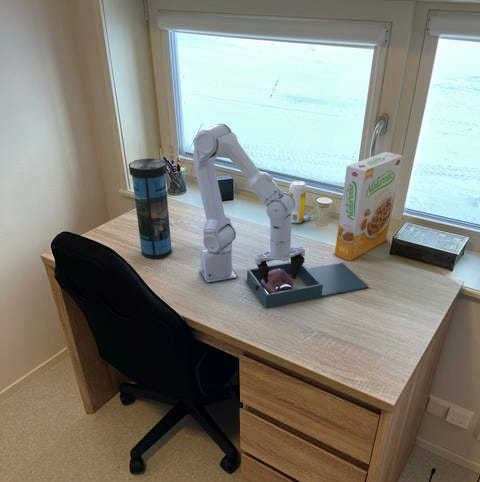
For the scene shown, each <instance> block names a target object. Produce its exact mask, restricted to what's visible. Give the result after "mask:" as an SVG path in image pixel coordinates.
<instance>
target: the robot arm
mask: <svg viewBox="0 0 480 482" xmlns="http://www.w3.org/2000/svg"><path fill="white" fill-rule="evenodd" d="M192 143H193V152H192V153H193V154H192V162H193V167H194V171H195V176H196V180H197V184H198V188H199V193H200V197H201V201H202V205H203V210H204V215H205V219H206V221H205V223H204V227H203V229H202V231H203V238H202V243H203V246H204V248H205V249H203V250H201V251H200V255H199V256H200V257H199V259H200V273H201V275H202V277H203V278H204V279H205V282H206V283H213V282H219V281H224V280H230V279H236V278H237V274H236V273H235V272H234V270H233V242H234V241H235V240H236V239H237V232H236V229H235V227H234V226H233V224H232V221H231V219H230V218H229V217H228V216H226V214H225V210H224V205H223V199H222V194H221V191H220V186H219V185H220V184H219V181H218V175H217V171H216V167H215V161H216V160H217V158H223V159H229V160H230V161H231V162H232V163H233V164H234V165H235V166H236V167H237V168H238V169H239V170H240V172H241V173H242V174H243V175H244V176H245V177H246V178H247V179H248V180H249V188H250V189H251V190H252V191H253V193H254V194H255V195H256V196H257V197H258V198H259V200H260V201H261V202H262V204H264V206H265V207H266V208H265V212H266V214H267V216H268V218H269V220H270V221H269V250H267V251H265V252H263V253H260V254H257V255H254V263H255V265H256V266H257V268H259V270H260V273H261V276H262V279H263V280H264V281H265V284H266V283H267V282H268V272H269V267H268V266H269V265H268V262H273V261H282V262H285V261H287V262H288V261H290V262H291V275H290V278H291V279H292V280H293V281H295V280H297V276H298V271H299V269H300V267H301V266H302V264H303V265H304V264H305V260H306V258H305V257H304V256H305V254H306V249H305V248H304V247H302V246H300V247H291V245H292V242H291V241H292V223H291V214H290V213H291V212H292V211H293V210H294V208H295V201H294V199H293V197H292V195H291V194H289V192H285V191H284V190H283V189H281V188H280V187H279V185H278V184H277V183H276V182H275V181H274V180H273V179H274V176H272V174H269V173H268V172H266V171H260V170H259V168H258V167H257V165H256V164H255V162H254V161H253V160H252V159H251V157H250V156H249V154H248V153H247V152H246V151H245V149H244V148H243V146H242V145H241V144H240V142H239V140H238V137H237V134H236V133H235V132H234V131H232V129H231V127H230V126H229V125H228V124H226V123H222V122H221V123H217V124H216V125H214V126H211V127H208V128H206V129H202V130H200V131H198V132H197V134H196V135H195V137H194V138H193V140H192Z"/></svg>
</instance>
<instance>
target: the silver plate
mask: <svg viewBox="0 0 480 482" xmlns="http://www.w3.org/2000/svg"><path fill="white" fill-rule="evenodd" d="M261 281H262V280H258V282H259V283H260V284H261ZM273 283H274V284H275V281H274V282H273ZM261 286H262V284H261ZM291 289H293V288H292V286H289V285H288V284H286V283H285V282H284V281H282V286H281V287H276V290H275V291H276V292H281V291H286V290H291ZM264 290H265V289H264ZM265 291H266V290H265ZM266 292H267V291H266ZM267 294H268V293H267Z"/></svg>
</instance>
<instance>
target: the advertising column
mask: <svg viewBox="0 0 480 482" xmlns="http://www.w3.org/2000/svg"><path fill="white" fill-rule="evenodd" d="M167 166H168V165H167V162H166V161H165V160H163V159H160V158H139V159H135V160H133V161H130V162H129V164H128V171H129V175H130V176H131V179H132V186H133V194H134V195H133V196H134V203H135V209H136V210H135V211H136V218H137V226H138V233H139V243H140V251H141V256H142V257H144V258H145V259H149V260H161V259H165V258H167V257H169V256H170V255H171V254H172V249H173V248H172V239H171V238H172V237H171V227H170V226H171V225H170V214H169V202H168V188H167V179H166V174H167V172H168V168H167Z"/></svg>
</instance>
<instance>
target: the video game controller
mask: <svg viewBox="0 0 480 482" xmlns="http://www.w3.org/2000/svg"><path fill="white" fill-rule="evenodd" d="M260 281H261V284H262V287H263V288H264V289H265V290H266V291H267V293H268V294H270V293H275V292H276V291H275V290H276V287H281V286H282V281H284V282H285V283H286V284H288V285H289V286H290V287H293V286H294V280H293V279H292V277H291V276H290V275H288V274H287V273H286V272H285V271H284V270H282V269H274V270H271V271H270V272H268V282H267V283H266V284H265V281H264V280H263V279H262V280H260ZM274 281H275V284H274V283H273V282H274Z"/></svg>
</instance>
